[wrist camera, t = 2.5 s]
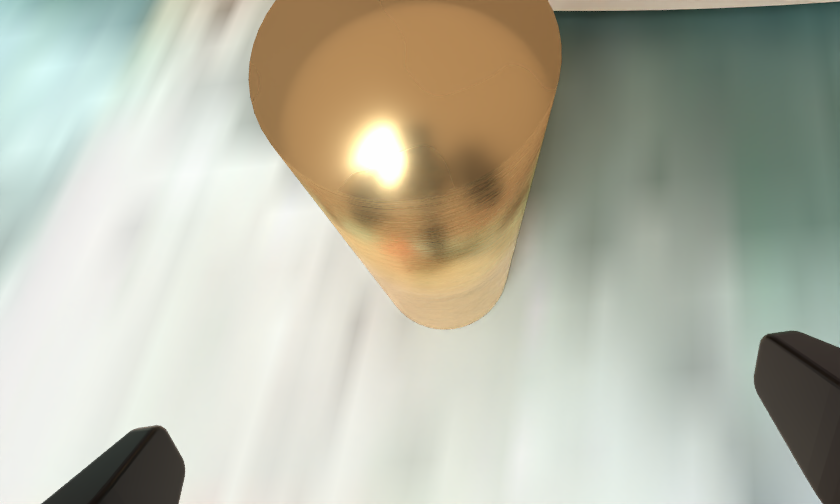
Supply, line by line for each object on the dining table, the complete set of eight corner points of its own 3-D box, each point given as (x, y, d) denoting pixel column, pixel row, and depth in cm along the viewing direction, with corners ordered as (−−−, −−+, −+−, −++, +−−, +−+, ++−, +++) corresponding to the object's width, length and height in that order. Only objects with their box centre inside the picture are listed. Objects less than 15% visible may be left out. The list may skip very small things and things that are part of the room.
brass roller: (480, 349, 19) (493, 247, 7) (364, 301, 20) (193, 137, 8) (524, 234, 20) (604, -30, 8) (412, 194, 21) (330, -94, 9)
